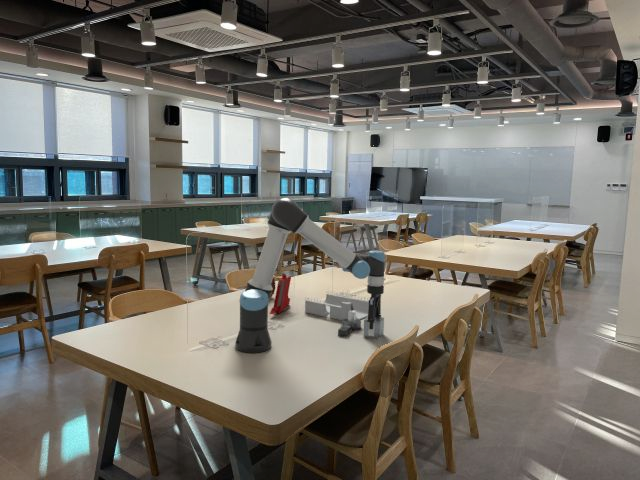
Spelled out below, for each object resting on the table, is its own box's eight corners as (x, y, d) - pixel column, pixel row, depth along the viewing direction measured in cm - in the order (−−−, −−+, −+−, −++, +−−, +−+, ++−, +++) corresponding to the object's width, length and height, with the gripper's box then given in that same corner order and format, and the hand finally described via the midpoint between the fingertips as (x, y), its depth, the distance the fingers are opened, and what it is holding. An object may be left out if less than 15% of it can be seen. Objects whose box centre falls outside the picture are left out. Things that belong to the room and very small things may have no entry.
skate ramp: (373, 314, 256) (374, 294, 255) (347, 325, 234) (348, 303, 233) (327, 304, 273) (328, 286, 272) (299, 314, 251) (299, 294, 250)
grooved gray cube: (379, 339, 214) (380, 321, 213) (363, 336, 217) (364, 319, 216) (383, 334, 221) (384, 317, 221) (367, 332, 224) (368, 315, 223)
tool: (278, 314, 242) (286, 267, 250) (268, 313, 243) (276, 266, 251) (289, 322, 265) (296, 279, 272) (279, 321, 266) (287, 278, 274)
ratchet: (351, 337, 216) (351, 320, 215) (332, 334, 219) (333, 317, 218) (362, 325, 234) (363, 310, 233) (345, 323, 237) (346, 307, 236)
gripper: (378, 289, 206) (376, 340, 208) (388, 281, 225) (386, 328, 227) (361, 288, 208) (359, 338, 211) (373, 279, 227) (371, 326, 230)
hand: (373, 333), depth 219 cm, fingers closed on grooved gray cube, 8 cm apart
